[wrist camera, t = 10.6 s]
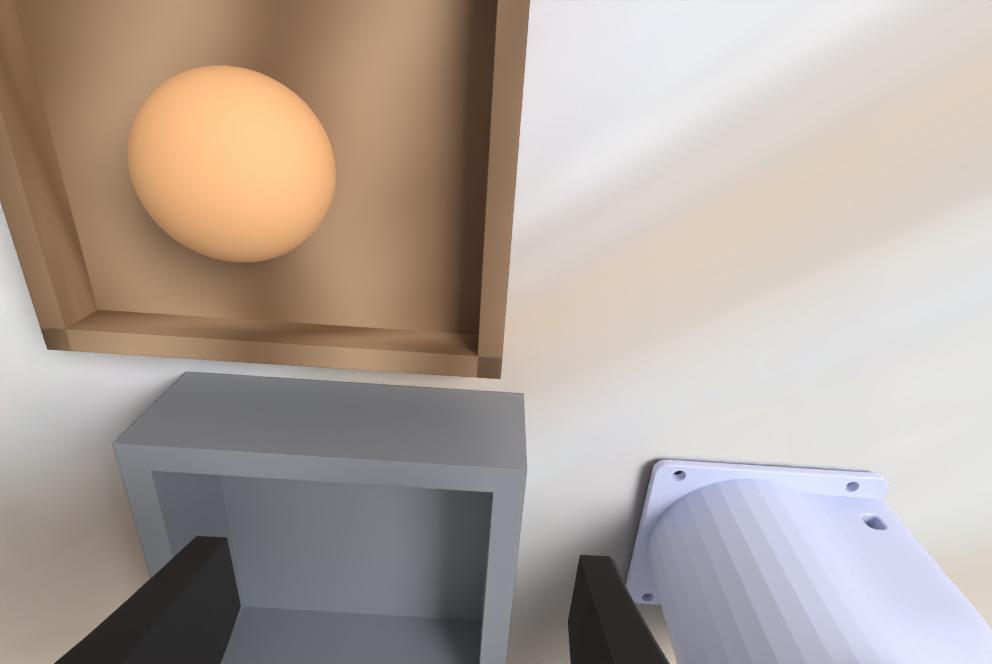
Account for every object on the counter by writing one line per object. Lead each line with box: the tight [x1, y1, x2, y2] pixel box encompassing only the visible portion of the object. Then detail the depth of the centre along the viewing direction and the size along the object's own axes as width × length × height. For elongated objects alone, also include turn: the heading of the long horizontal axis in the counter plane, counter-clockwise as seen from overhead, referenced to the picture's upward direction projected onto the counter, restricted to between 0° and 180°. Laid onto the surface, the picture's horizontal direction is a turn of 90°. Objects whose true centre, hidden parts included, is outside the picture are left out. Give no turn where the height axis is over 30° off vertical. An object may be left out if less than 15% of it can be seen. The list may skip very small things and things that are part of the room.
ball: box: [127, 65, 336, 262], centre depth 15 cm, size 5×5×5 cm
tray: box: [0, 0, 530, 379], centre depth 17 cm, size 15×13×2 cm
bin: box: [112, 372, 527, 664], centre depth 23 cm, size 13×13×4 cm
